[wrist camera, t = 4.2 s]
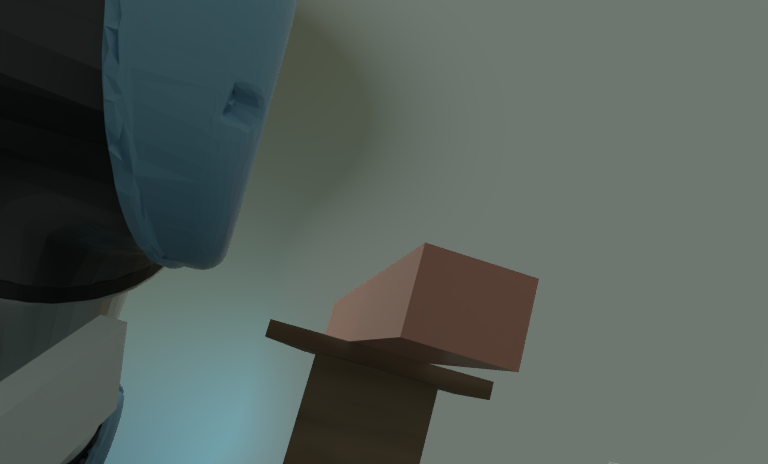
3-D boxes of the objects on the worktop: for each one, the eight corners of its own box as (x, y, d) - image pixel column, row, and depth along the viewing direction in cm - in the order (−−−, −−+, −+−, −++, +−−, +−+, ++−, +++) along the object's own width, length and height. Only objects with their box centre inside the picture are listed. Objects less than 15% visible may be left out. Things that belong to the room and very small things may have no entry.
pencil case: (518, 371, 22) (538, 278, 22) (400, 337, 21) (425, 242, 22) (374, 358, 51) (385, 317, 51) (322, 343, 50) (334, 302, 51)
